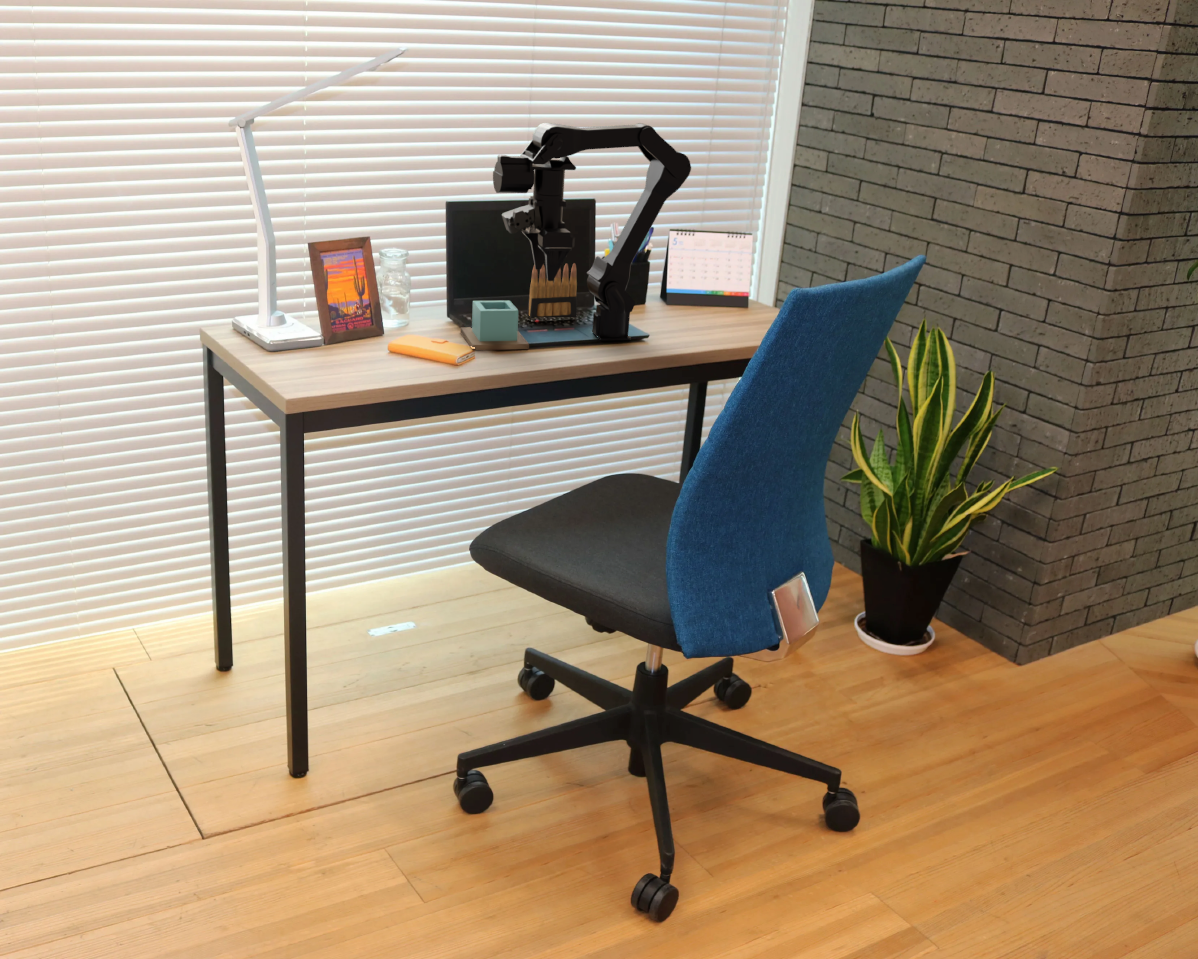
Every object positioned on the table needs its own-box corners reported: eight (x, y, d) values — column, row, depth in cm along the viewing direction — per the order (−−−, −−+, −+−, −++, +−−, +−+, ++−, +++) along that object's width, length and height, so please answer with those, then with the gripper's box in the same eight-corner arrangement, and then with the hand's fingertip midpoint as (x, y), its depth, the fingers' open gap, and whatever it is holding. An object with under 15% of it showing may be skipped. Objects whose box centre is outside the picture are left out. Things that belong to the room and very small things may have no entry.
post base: (514, 331, 232) (515, 302, 230) (528, 348, 221) (530, 318, 219) (460, 332, 229) (461, 302, 226) (472, 350, 218) (473, 319, 216)
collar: (508, 329, 229) (509, 300, 227) (517, 340, 223) (518, 310, 220) (471, 330, 227) (472, 300, 224) (479, 341, 220) (480, 310, 218)
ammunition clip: (529, 322, 239) (532, 265, 234) (526, 320, 240) (529, 263, 236) (576, 320, 243) (580, 263, 239) (573, 317, 245) (576, 261, 240)
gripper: (495, 184, 222) (493, 263, 228) (518, 201, 206) (514, 287, 212) (551, 185, 226) (547, 263, 232) (577, 202, 209) (572, 286, 216)
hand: (544, 274), depth 223 cm, fingers open, 9 cm apart
